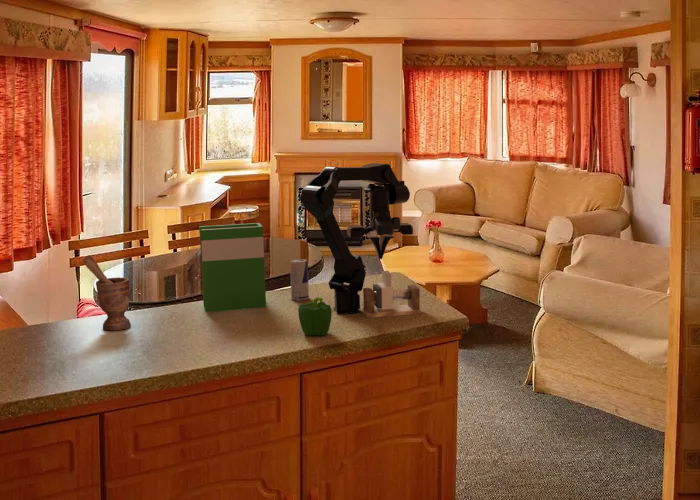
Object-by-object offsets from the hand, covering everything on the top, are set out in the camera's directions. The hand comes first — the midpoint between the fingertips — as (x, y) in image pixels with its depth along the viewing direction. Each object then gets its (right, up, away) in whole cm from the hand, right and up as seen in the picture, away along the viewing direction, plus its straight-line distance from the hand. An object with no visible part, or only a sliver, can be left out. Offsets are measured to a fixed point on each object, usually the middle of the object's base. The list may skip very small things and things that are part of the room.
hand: (380, 258), depth 228 cm
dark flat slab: (-1, -13, -11) cm, 17 cm away
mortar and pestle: (-74, -19, -20) cm, 79 cm away
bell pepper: (-18, -19, -29) cm, 39 cm away
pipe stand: (+3, -15, -10) cm, 18 cm away
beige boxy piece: (+1, -13, -11) cm, 17 cm away
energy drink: (-24, -13, +8) cm, 28 cm away
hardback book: (-43, -14, 0) cm, 45 cm away
